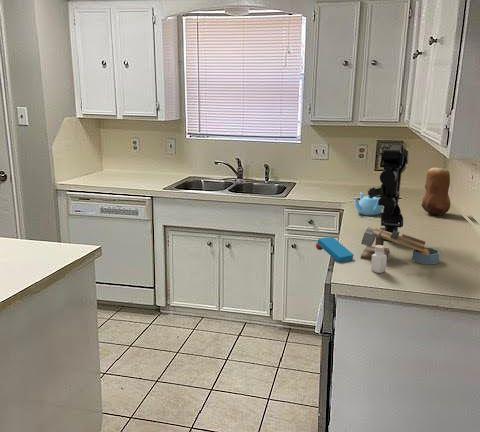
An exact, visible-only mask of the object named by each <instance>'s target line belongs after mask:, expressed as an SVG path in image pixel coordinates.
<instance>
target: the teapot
mask: <svg viewBox="0 0 480 432" xmlns="http://www.w3.org/2000/svg"><path fill="white" fill-rule="evenodd" d="M359 195H360V198H359V199H358V198H357V197H353V199H354V200H355V202H354V204H355V209H356V210H357V211H356V212H358V213H359V214H360V215H363V216H371V217H372V216H378V215H380V214H382V212H383V210H384V206H382V205H378V200H379V199H380V198H381V197H377V196H375V197H373V198H370V197H369V195H368V194H367V196H364V193H363V192H361V191H360V192H359Z"/></svg>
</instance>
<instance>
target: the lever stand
mask: <svg viewBox="0 0 480 432" xmlns="http://www.w3.org/2000/svg"><path fill="white" fill-rule="evenodd" d="M379 229H383V230H384V229H385V227H384V226H380V227H379ZM384 241H385V240H384V239H383V238H381V235H378V234H376V237H375V246H376V245H382V246H384V244H385V243H384ZM365 246H366V245H365ZM375 246H373V245H372V246H371V247H369V246H366V247H365V248H364V250H363V251H362V253H361V254H360V259H364V260H371V261H372V255H373V254H375ZM389 252H390V248H388V247H384V255H386V256H387V257H388V254H389Z"/></svg>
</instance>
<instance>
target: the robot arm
mask: <svg viewBox="0 0 480 432" xmlns="http://www.w3.org/2000/svg"><path fill="white" fill-rule="evenodd" d="M390 146H391V147H389V149H388V148H387V149H386V148H385V149H384V150H383V151H382V152H381V156H380V157H381V158H380V162H379V163H380V164H379V168H381V169H382V168H383V170H382V172H381V173H380V175H379V180H380V182H381V184H380V186H375V187H370V188H369V189H368V190H367V196H368V195H369V197H370V198H373V197H379V196H380V197H379V198H380V199H379V200H378V205H382V206H383V209H382V212H381V213H380V214H381V216H380V227H384V228H385V229H384V231H387V232H390V233H393V230H394V231H397V232H399V228H403V227H404V216H403V214H402V211H401V208H400V206H399V199H400V197H401V196H400V194H401V193H400V191H401V190H400V189H401V180H402V174H403V173H404V172H405V170H406V169H407V164H409V151H408V150H407V149H406V148H405V144H403V143H392V144H391V145H390ZM384 241H388V242H389V240H386V239H384Z"/></svg>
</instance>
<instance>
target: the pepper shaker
mask: <svg viewBox="0 0 480 432" xmlns="http://www.w3.org/2000/svg"><path fill="white" fill-rule="evenodd" d="M374 247H375V254H373V255H372V260H371V266H370V270H371V272H374V273H376V274H377V273H378V274H382V273H384V272H386V270H387V257H388V255H387V256H386V255H384V248H385V246H384V245H383V246H382V245H376V246H374Z"/></svg>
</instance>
